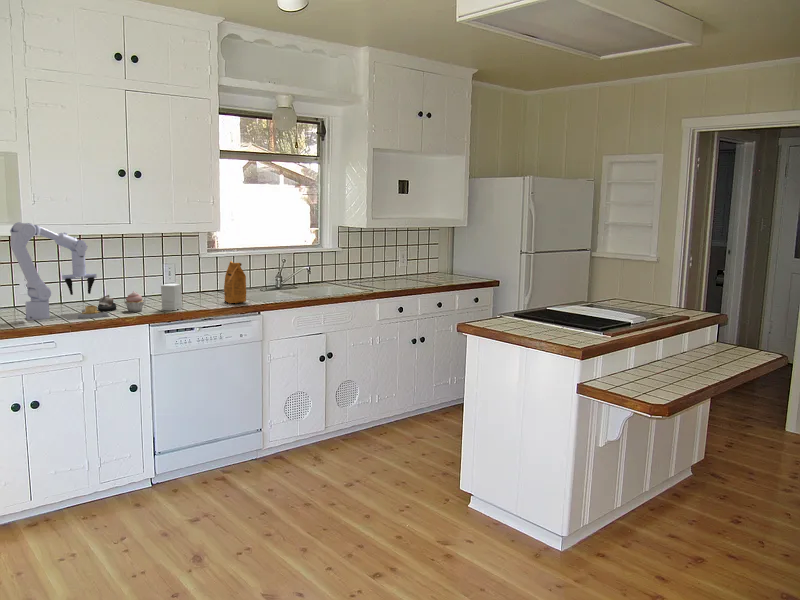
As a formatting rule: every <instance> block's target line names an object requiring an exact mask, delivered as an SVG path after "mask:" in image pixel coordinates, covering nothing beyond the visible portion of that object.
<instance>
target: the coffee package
mask: <svg viewBox="0 0 800 600" xmlns="http://www.w3.org/2000/svg"><path fill="white" fill-rule="evenodd" d="M242 265H243V264H242V263H241V262H233V261H232V260H231V261H229V263H228V266H227V269H226V271H225V276H224V284H223V285H224V287H223V290H224V291H223V292H224V293H223V294H224V298H223V299H224V302H225V301H226V302H225V303H227V302H228V303H227V304H231V303H235V304H241V303H245V302H247V276H246V274H245V272H244V270H243V268H242V267H241V266H242Z"/></svg>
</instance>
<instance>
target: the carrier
mask: <svg viewBox="0 0 800 600" xmlns="http://www.w3.org/2000/svg"><path fill="white" fill-rule="evenodd" d="M82 312H85V308H83V309H82V310H81V312H78V313H77V312H76V313H75V312H74V313H65V314H63V313H62V314H61V316H62V317H63V318H64V319H65V320H66V321H73V320H74V321H75V320H84V319H85V320H86V319H88V320H89V319H97V318H98V319H99V318H109V317H111V316H110V315H109V311H106V312H103V311H99V312H100V313H94V314H82Z"/></svg>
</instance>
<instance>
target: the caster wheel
mask: <svg viewBox="0 0 800 600" xmlns="http://www.w3.org/2000/svg"><path fill="white" fill-rule="evenodd" d="M98 302H99V303H98V305H97V311H99V312H101V311H102V312H115V311H117V303H115V302H114V298H113V297H110V294H107V295H104V296H101V297H99V298H98Z"/></svg>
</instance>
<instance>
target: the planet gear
mask: <svg viewBox="0 0 800 600" xmlns="http://www.w3.org/2000/svg"><path fill="white" fill-rule="evenodd" d="M84 309H85V312H82V311H81V313H82V314H94V313H100V312H101V311H98V305H87V306H85V307H84Z"/></svg>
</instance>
